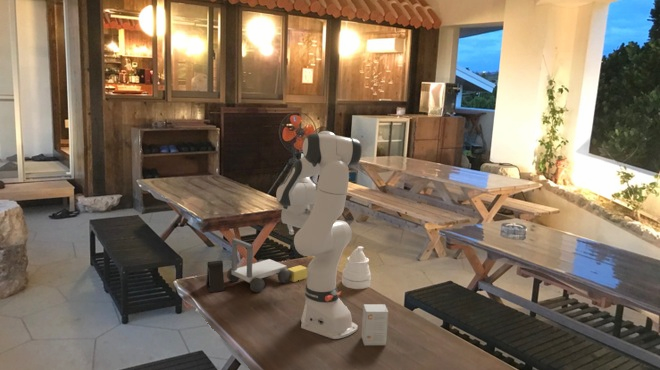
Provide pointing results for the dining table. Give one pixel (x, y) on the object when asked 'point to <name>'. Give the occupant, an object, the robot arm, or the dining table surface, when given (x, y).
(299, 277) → the tall gold block
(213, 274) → the phone stand
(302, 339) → the dining table surface
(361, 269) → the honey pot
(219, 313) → the dining table surface
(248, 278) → the flatbed trolley
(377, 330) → the small box
